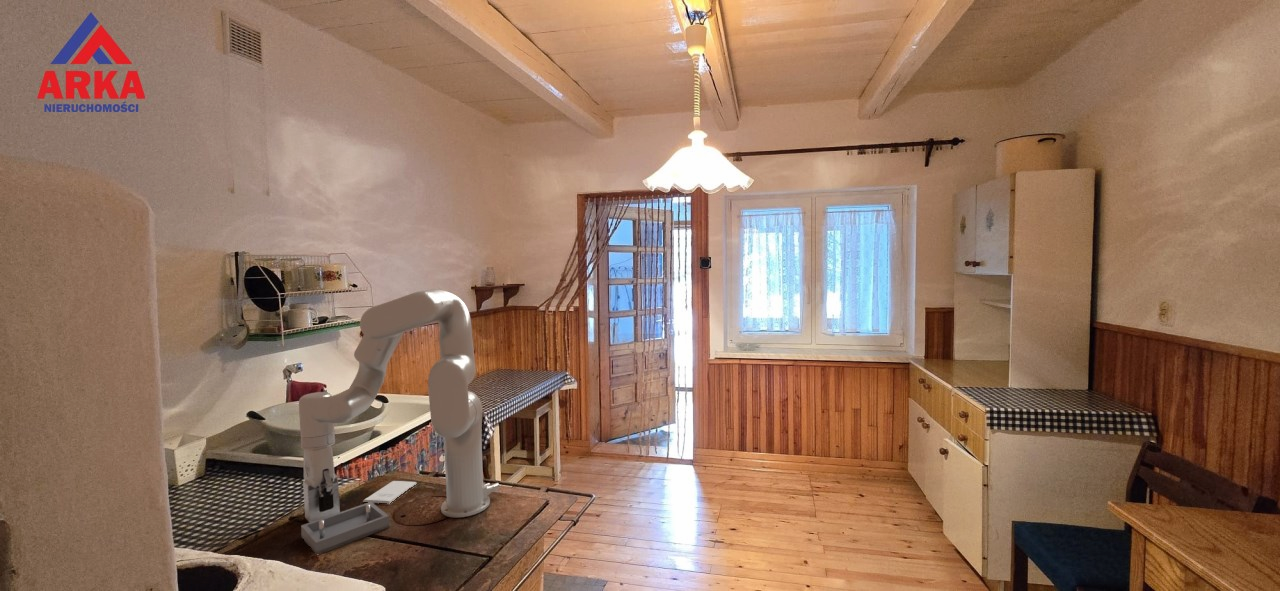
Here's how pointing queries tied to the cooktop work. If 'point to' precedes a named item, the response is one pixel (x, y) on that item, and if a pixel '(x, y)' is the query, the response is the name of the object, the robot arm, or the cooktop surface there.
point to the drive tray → (344, 527)
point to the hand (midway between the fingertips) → (322, 505)
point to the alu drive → (313, 501)
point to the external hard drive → (390, 492)
